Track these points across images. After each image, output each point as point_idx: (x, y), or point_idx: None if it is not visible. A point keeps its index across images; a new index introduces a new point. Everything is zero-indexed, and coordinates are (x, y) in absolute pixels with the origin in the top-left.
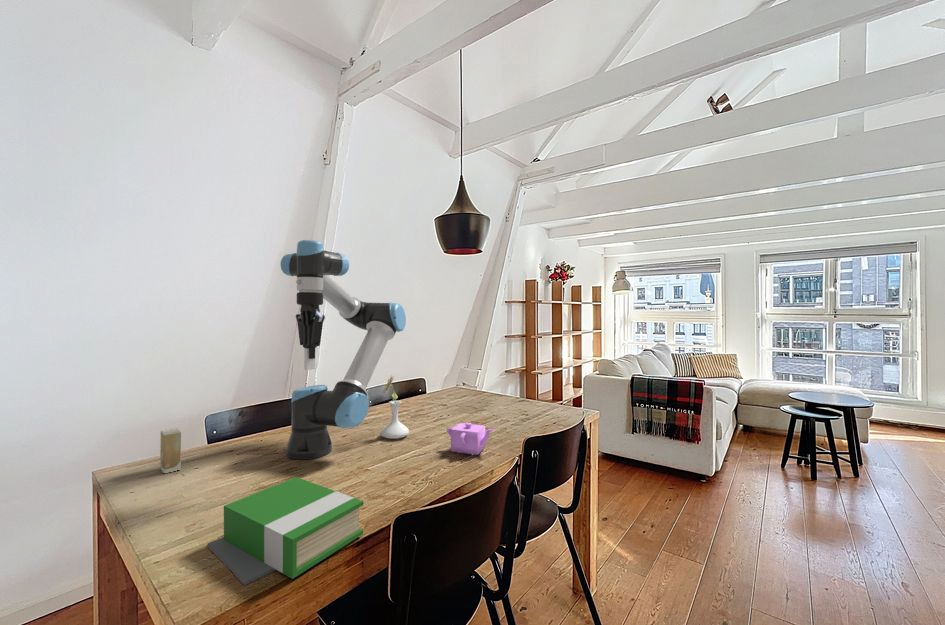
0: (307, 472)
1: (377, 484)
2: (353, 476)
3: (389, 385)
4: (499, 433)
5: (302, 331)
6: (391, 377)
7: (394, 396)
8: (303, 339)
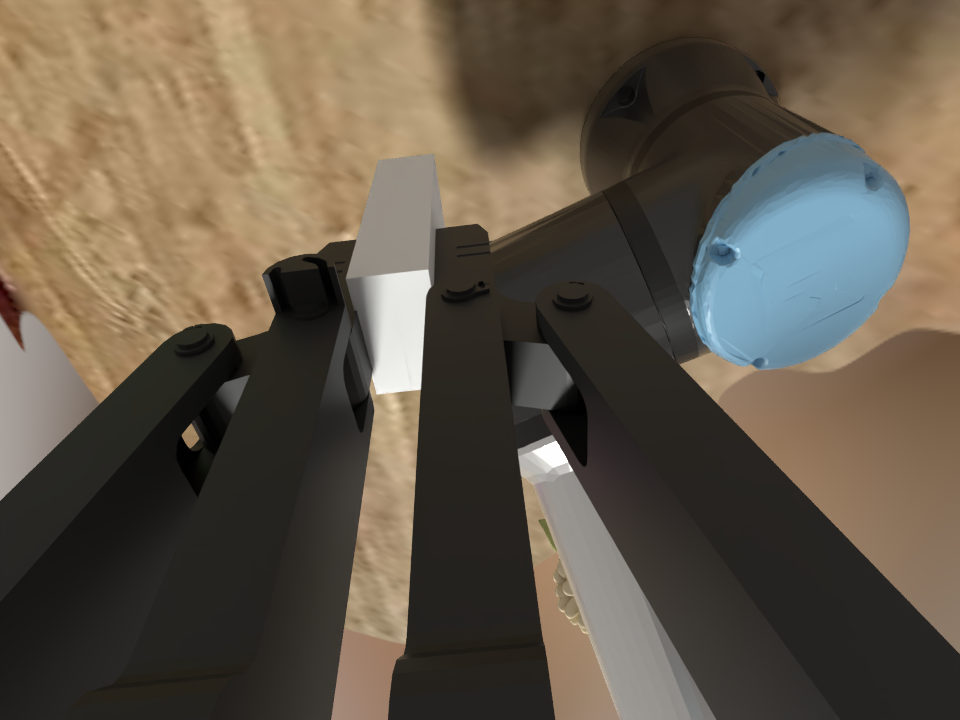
0: (462, 35)
1: (191, 190)
2: (308, 160)
3: (566, 576)
4: (363, 607)
5: (643, 497)
6: (579, 620)
7: (551, 544)
8: (477, 355)
